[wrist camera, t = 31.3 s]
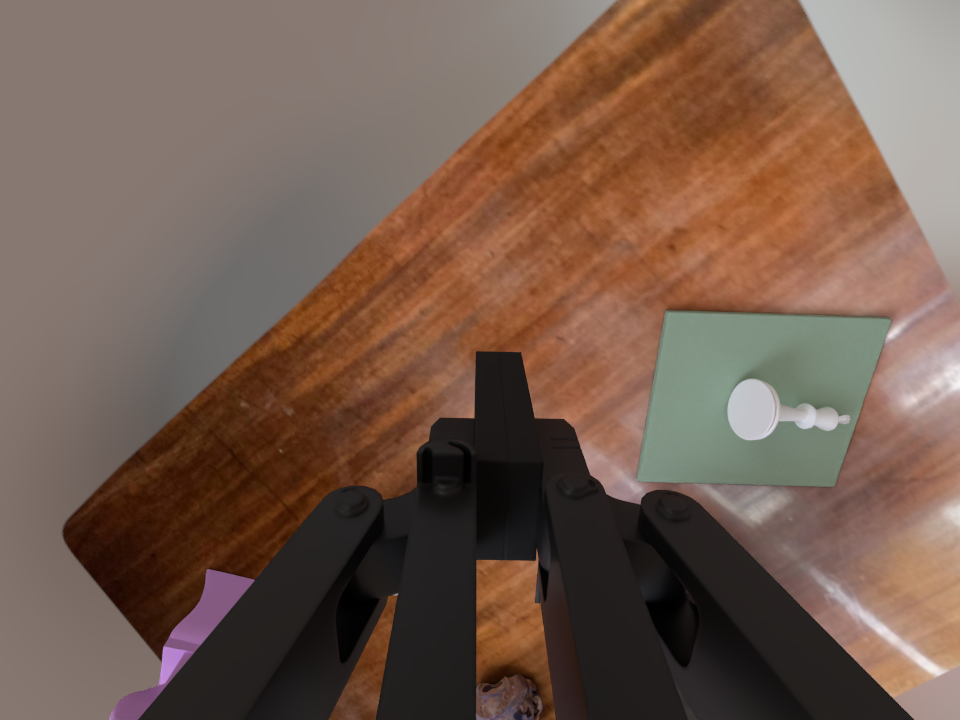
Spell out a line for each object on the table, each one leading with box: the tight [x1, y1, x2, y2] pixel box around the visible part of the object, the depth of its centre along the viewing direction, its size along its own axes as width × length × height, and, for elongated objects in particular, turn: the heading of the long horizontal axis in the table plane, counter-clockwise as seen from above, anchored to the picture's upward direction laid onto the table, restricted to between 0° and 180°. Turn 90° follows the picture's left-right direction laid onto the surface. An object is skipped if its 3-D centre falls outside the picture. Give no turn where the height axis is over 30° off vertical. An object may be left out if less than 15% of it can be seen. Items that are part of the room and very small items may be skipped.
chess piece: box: [727, 379, 850, 440], centre depth 43 cm, size 5×5×10 cm
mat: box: [636, 310, 892, 487], centre depth 45 cm, size 16×18×1 cm
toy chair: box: [109, 569, 255, 720], centre depth 47 cm, size 8×9×15 cm
